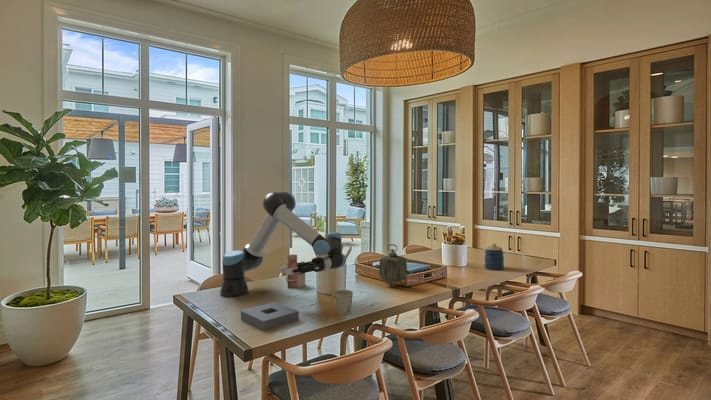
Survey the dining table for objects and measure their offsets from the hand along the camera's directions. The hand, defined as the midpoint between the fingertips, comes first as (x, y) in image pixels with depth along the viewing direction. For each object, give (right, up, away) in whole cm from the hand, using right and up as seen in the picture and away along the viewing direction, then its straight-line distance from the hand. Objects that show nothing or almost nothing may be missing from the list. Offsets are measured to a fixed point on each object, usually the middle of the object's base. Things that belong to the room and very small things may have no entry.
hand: (283, 271), depth 190 cm
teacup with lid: (-1, -18, +46) cm, 49 cm away
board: (-4, -20, -12) cm, 23 cm away
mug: (+28, -19, -3) cm, 34 cm away
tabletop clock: (+57, -17, +43) cm, 73 cm away
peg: (+4, -9, +4) cm, 10 cm away
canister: (+133, -14, +87) cm, 159 cm away
